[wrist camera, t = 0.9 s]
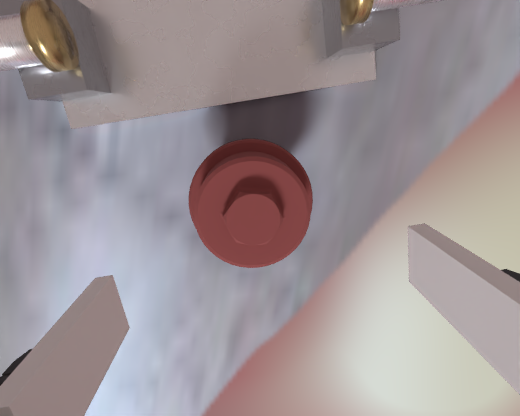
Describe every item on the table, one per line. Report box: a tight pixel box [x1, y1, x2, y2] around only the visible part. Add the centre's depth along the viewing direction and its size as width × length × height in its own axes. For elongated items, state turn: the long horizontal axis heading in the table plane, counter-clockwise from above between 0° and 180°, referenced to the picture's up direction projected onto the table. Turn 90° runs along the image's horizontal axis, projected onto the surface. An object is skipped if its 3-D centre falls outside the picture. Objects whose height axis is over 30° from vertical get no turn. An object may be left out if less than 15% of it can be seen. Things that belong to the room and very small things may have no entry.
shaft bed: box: [0, 0, 444, 129], centre depth 25 cm, size 36×12×10 cm, turn 99°
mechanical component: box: [189, 139, 313, 268], centre depth 28 cm, size 12×10×10 cm
